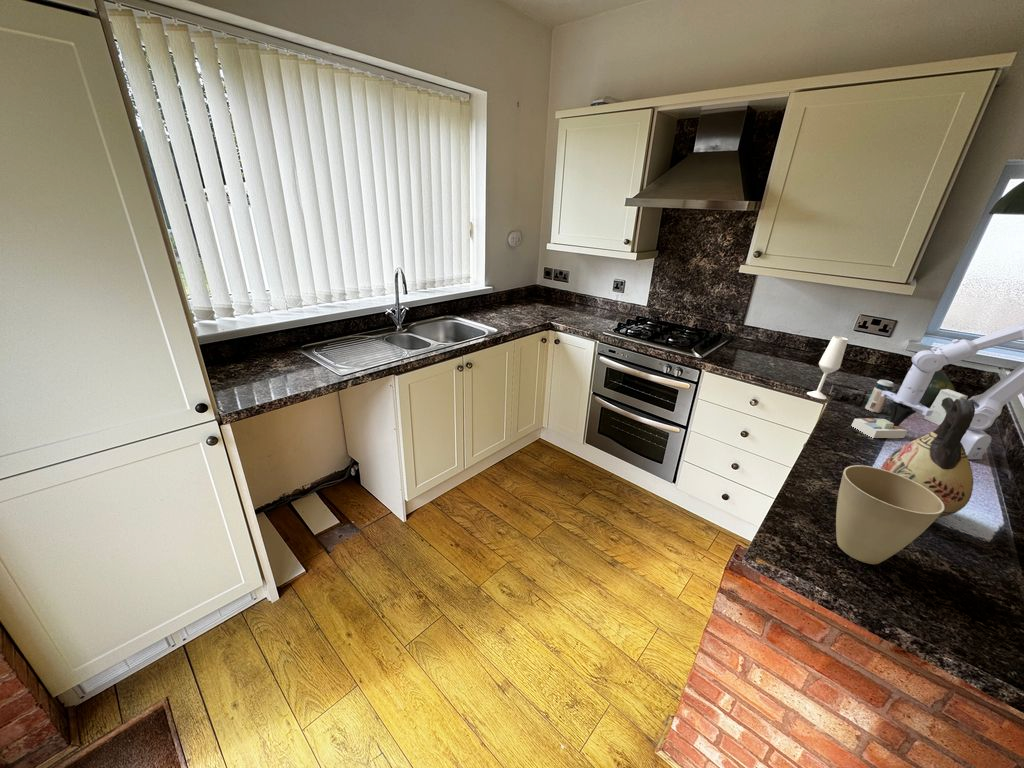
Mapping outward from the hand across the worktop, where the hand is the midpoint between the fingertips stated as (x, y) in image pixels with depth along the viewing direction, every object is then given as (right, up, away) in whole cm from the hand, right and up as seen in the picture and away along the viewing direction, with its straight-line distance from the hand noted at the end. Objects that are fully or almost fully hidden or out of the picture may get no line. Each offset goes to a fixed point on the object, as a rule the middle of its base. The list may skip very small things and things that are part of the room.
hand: (894, 425), depth 136 cm
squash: (+38, +5, +29) cm, 48 cm away
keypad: (-4, -3, +2) cm, 5 cm away
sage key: (-4, -1, 0) cm, 4 cm away
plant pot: (-55, -21, -51) cm, 78 cm away
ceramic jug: (-32, -17, -37) cm, 52 cm away
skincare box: (+28, -1, +14) cm, 31 cm away
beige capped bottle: (+9, +3, +19) cm, 21 cm away
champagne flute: (-5, +9, +28) cm, 30 cm away
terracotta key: (0, -2, +1) cm, 2 cm away
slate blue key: (-8, -2, 0) cm, 8 cm away
